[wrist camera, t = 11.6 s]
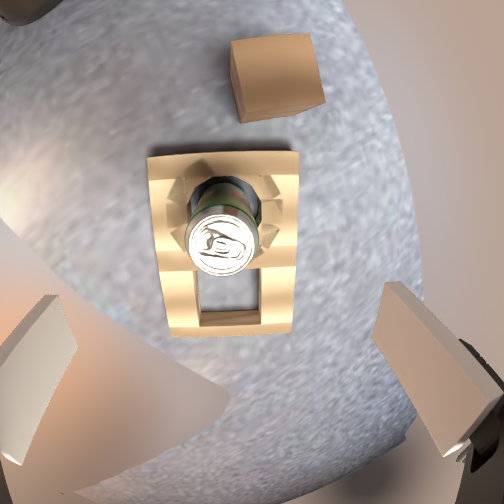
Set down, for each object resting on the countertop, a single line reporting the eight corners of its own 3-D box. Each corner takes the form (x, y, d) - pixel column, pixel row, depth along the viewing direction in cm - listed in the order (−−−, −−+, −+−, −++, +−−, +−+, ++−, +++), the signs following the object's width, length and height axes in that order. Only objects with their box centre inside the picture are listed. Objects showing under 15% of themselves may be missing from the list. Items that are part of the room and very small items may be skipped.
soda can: (207, 176, 28) (193, 197, 17) (254, 190, 29) (271, 220, 18) (194, 222, 29) (174, 271, 18) (240, 234, 30) (246, 289, 19)
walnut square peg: (230, 74, 24) (230, 40, 15) (283, 66, 24) (309, 33, 15) (240, 123, 26) (246, 112, 17) (293, 115, 26) (325, 102, 17)
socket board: (155, 156, 26) (147, 157, 24) (292, 150, 27) (298, 151, 25) (175, 322, 34) (171, 337, 31) (286, 318, 35) (291, 332, 32)
